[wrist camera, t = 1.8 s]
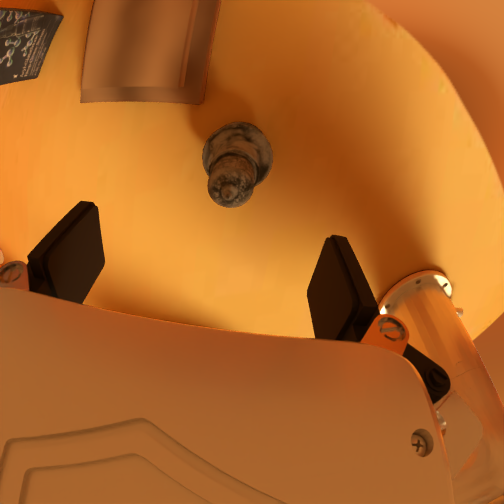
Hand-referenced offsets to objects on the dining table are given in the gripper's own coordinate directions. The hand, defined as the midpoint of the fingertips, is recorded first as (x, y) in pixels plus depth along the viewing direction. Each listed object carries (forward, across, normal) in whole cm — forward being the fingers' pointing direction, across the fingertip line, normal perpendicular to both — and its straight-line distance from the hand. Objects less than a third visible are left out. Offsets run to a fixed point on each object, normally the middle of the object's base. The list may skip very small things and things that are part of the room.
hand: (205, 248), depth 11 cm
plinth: (+18, +9, -10) cm, 22 cm away
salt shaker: (+18, -1, 0) cm, 18 cm away
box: (+18, +24, -12) cm, 33 cm away
